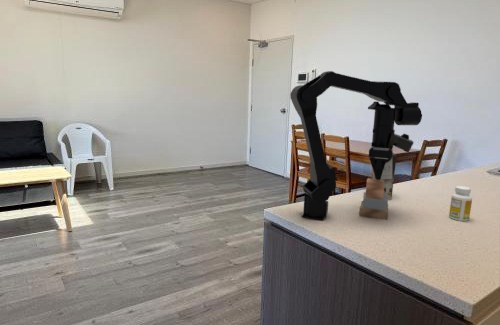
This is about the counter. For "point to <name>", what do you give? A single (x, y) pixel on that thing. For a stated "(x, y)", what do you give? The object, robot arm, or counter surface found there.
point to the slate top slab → (375, 203)
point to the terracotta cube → (374, 188)
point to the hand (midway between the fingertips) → (378, 176)
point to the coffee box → (388, 176)
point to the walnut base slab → (373, 213)
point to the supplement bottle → (461, 204)
